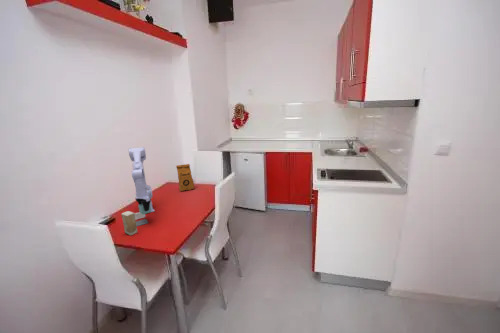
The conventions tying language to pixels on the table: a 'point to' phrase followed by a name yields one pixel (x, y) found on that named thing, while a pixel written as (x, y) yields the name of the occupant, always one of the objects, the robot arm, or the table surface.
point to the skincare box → (129, 223)
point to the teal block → (141, 209)
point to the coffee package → (185, 177)
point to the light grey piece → (139, 215)
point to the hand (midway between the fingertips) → (144, 209)
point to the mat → (141, 222)
